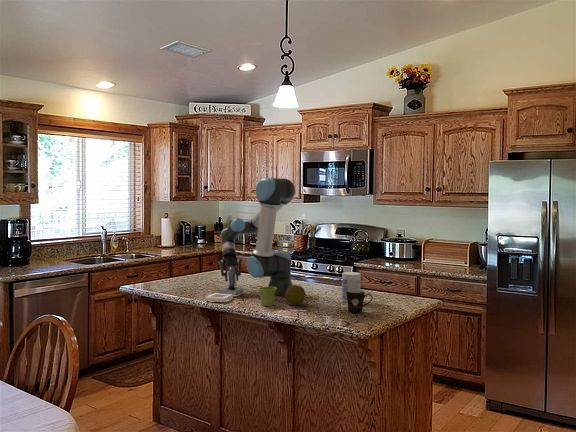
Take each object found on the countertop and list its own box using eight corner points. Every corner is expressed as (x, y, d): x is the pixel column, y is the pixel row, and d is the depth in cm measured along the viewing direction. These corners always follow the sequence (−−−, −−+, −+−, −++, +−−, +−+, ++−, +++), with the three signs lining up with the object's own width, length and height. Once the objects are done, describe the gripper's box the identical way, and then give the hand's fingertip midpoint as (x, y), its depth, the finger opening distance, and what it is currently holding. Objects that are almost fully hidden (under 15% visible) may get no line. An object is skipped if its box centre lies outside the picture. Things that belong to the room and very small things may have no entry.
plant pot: (254, 305, 261) (254, 287, 261) (269, 302, 267) (269, 285, 267) (265, 308, 254) (265, 290, 254) (280, 305, 260) (280, 288, 260)
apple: (284, 306, 257) (284, 284, 257) (286, 302, 267) (286, 281, 266) (304, 307, 256) (304, 285, 256) (306, 303, 266) (306, 281, 265)
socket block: (243, 293, 291) (243, 287, 290) (236, 297, 281) (236, 290, 281) (227, 292, 294) (227, 286, 293) (219, 296, 284) (219, 289, 284)
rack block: (233, 299, 276) (233, 294, 276) (224, 303, 265) (224, 298, 265) (214, 297, 279) (214, 293, 279) (204, 302, 269) (204, 297, 268)
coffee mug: (342, 312, 244) (342, 291, 244) (351, 309, 252) (351, 288, 251) (365, 315, 238) (365, 294, 237) (373, 312, 245) (373, 291, 245)
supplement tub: (339, 302, 268) (339, 273, 267) (345, 299, 276) (345, 271, 276) (357, 304, 264) (357, 275, 263) (362, 300, 272) (362, 272, 272)
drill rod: (235, 294, 288) (235, 267, 288) (233, 295, 285) (233, 267, 285) (230, 293, 289) (230, 266, 289) (227, 294, 286) (227, 267, 286)
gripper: (242, 255, 303) (246, 288, 288) (214, 256, 300) (216, 290, 284) (243, 247, 298) (248, 280, 282) (214, 247, 294) (217, 281, 279)
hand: (232, 285), depth 283 cm, fingers closed on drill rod, 3 cm apart
